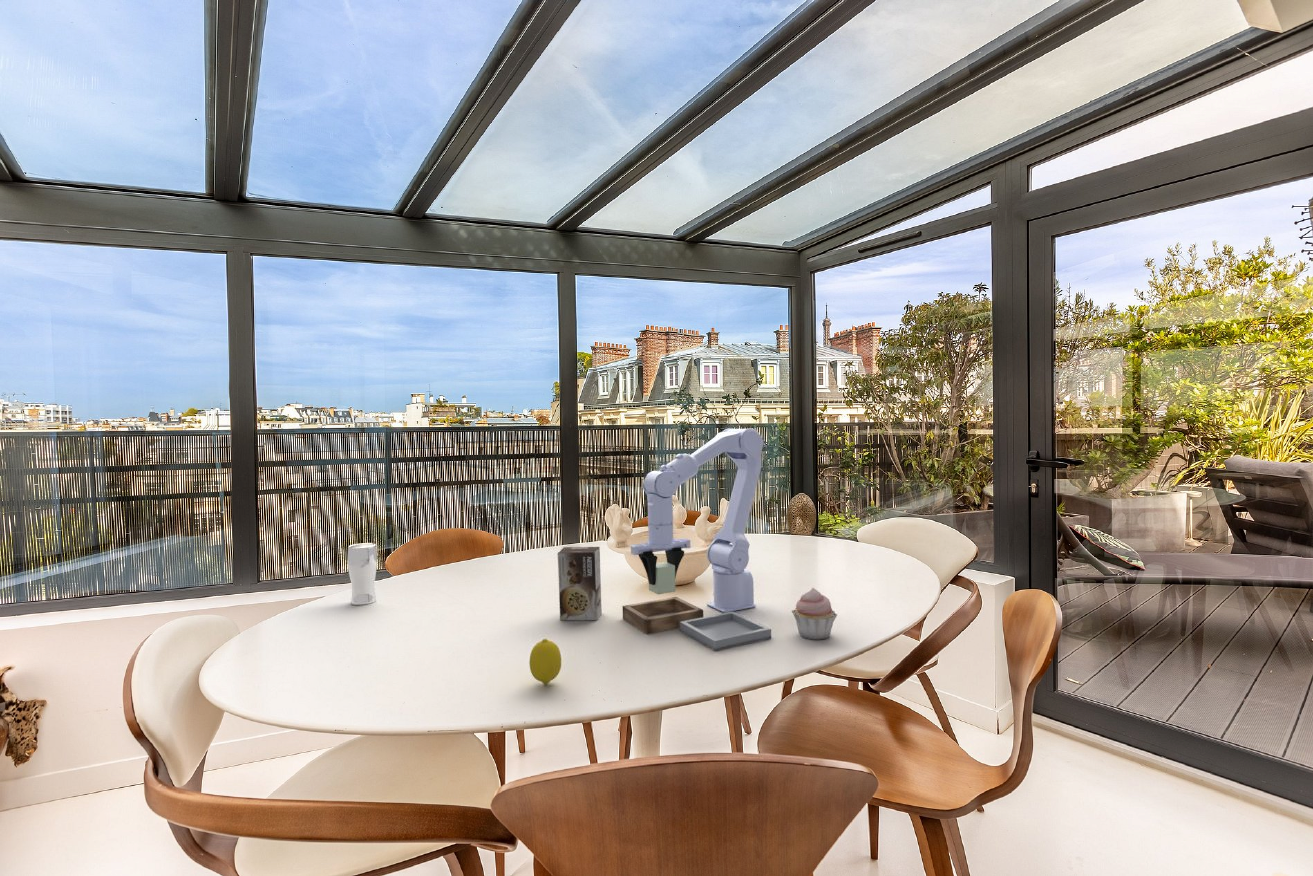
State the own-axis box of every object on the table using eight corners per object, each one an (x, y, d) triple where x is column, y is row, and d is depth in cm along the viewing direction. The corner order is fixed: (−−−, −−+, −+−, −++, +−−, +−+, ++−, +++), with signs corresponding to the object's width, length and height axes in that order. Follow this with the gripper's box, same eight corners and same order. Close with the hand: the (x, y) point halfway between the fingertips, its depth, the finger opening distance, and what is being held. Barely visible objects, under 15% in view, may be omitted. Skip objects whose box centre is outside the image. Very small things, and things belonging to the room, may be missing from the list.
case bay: (676, 609, 151) (676, 596, 151) (703, 623, 140) (703, 609, 140) (622, 618, 144) (622, 606, 144) (646, 634, 133) (646, 620, 133)
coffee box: (602, 612, 149) (600, 546, 149) (597, 621, 143) (595, 551, 142) (565, 612, 150) (563, 546, 150) (558, 620, 144) (557, 551, 143)
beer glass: (370, 605, 159) (368, 547, 159) (343, 606, 159) (341, 548, 159) (382, 598, 166) (381, 542, 166) (357, 598, 166) (355, 543, 166)
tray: (732, 620, 141) (732, 611, 141) (771, 638, 129) (771, 628, 129) (679, 630, 135) (679, 621, 135) (714, 651, 122) (714, 641, 122)
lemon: (531, 678, 111) (530, 634, 111) (563, 677, 111) (561, 633, 111) (528, 692, 105) (527, 645, 105) (560, 690, 106) (559, 643, 106)
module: (666, 587, 145) (665, 561, 144) (675, 591, 141) (674, 565, 140) (648, 590, 143) (648, 564, 142) (658, 594, 139) (657, 568, 138)
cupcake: (825, 626, 136) (824, 581, 135) (845, 640, 126) (844, 592, 126) (784, 629, 134) (784, 583, 134) (802, 644, 125) (801, 595, 125)
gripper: (639, 529, 134) (641, 590, 135) (696, 522, 141) (698, 581, 141) (626, 524, 141) (627, 583, 141) (681, 518, 147) (682, 575, 148)
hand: (661, 582), depth 142 cm, fingers closed on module, 4 cm apart
